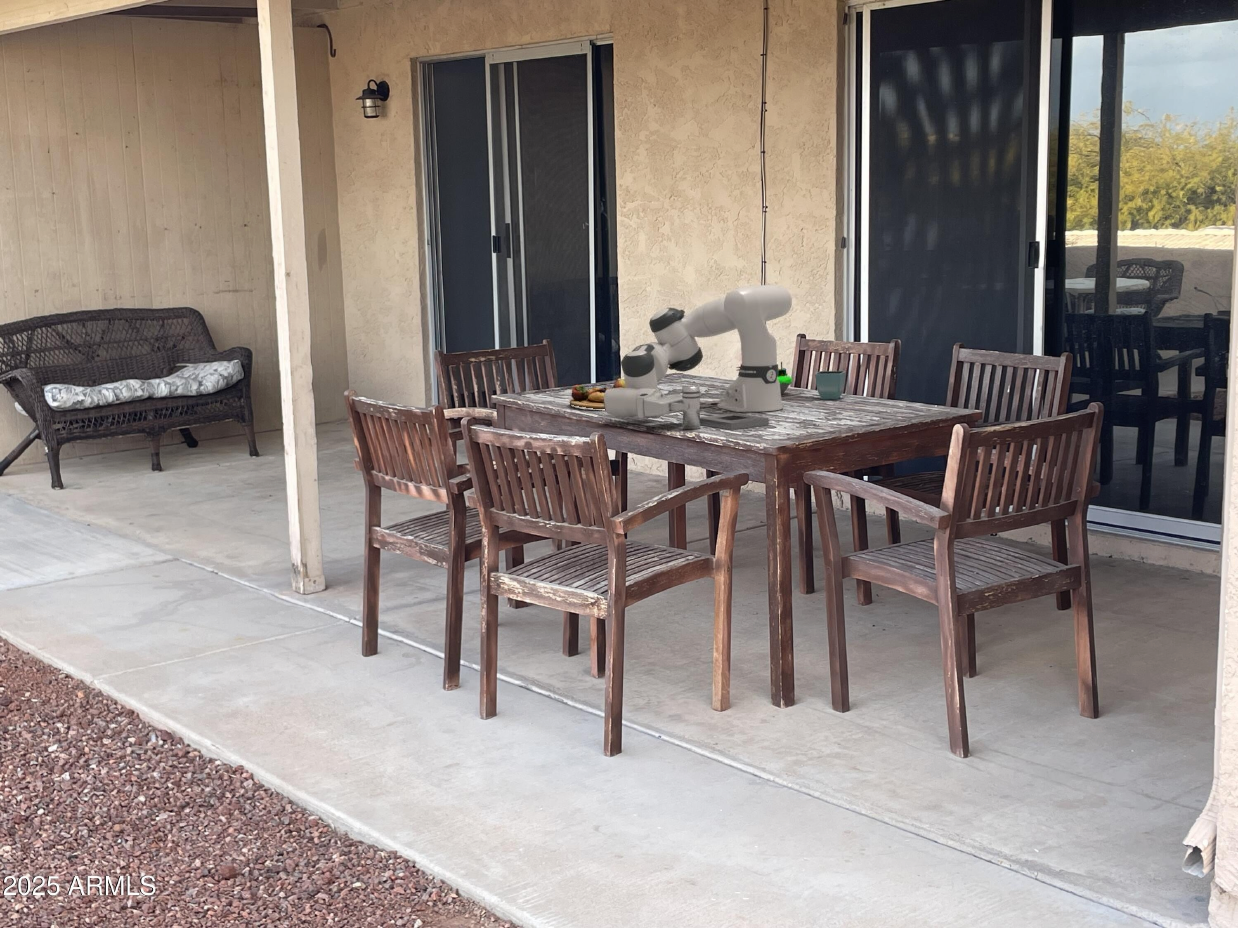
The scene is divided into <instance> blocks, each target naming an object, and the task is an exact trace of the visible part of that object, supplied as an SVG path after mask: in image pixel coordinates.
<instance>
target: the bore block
mask: <svg viewBox="0 0 1238 928" xmlns="http://www.w3.org/2000/svg"><path fill="white" fill-rule="evenodd" d="M769 419H770V418H769V417H764V416H756V415H750V414H745V413H744V414H743V413H739V412H731V413H724V414H716V415H710V416H700V426H704V427H711V428H717V429H722V430H723V429H724V430H730V431H732V430H733V431H734V430H740V429H750V428H756V427H762V426H769V425H770V424H769V422H770V421H769Z"/></svg>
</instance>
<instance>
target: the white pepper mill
mask: <svg viewBox="0 0 1238 928" xmlns="http://www.w3.org/2000/svg"><path fill="white" fill-rule="evenodd" d="M681 388H682V389H681V394H682V400H683V403H689V405H690V406H689V407H690V409H688V410H682V428H683V429H685V430H697V429H698V430H699V429H701V425H700V417H701V407H700V406H701V401H700V399H701V395H700V393H701V390H700V389H701V388H700V386H699V385H698V386H697V385H685V386H682V387H681Z"/></svg>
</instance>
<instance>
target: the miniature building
mask: <svg viewBox="0 0 1238 928" xmlns="http://www.w3.org/2000/svg"><path fill="white" fill-rule="evenodd" d="M777 379H778V381H779V383H780V391H781V395H782V394H784V393H785V392H786V391H787V389H788V388H789V387H790V385H791V384H792V381H793V378H792V377H791V376H788V373H787V369H786V368H785V367H783V361H780V368H779V371H778V376H777Z"/></svg>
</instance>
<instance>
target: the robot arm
mask: <svg viewBox="0 0 1238 928" xmlns="http://www.w3.org/2000/svg"><path fill="white" fill-rule="evenodd" d="M792 300H793V299H792V296H791V293H790V291H789V290H788V289H787V288H786V287H784V286H780V285H776V284H761V285H749V286H741V287H738V288H736V289H733V290H730V291H729V292H728V293H727V294H726V295H725V296H723V297H720V298H716V299H714V300H712V301H708V302H706V303H704V304H702V305H700V306H698V307H696V308H695V309H693V310H692V311H691V312H689V313H688V314H685V313H686V311H685V310H684V309H678V308H675V307H666V308H663V309H659V310H658V311H657V312H655V313H654V314H653V315H652V317H651V318H650V319H649V323H648V324H649V327H650V330H651V333H653V335H654V337H655V339H656V342H655V341H653V342H652V341H651V342H648V343H647V342H646V343H644V344H640V345H638V346H635V347H634V348H633V349H632V350H631V351H630V352H628V353H626V354H625V355H624V356H623V358H622V359H621V361H620V365H621V366H620V367H621V369H622V373H623V378H624V379H623V380H624V381H625V385H626V388H614V389H612V388H610V389H609V388H607V389H608V390H606V392H605V394H604V399H603V400H604V407H605V410H606V411H605V412H606V414H608V415H611V416H614V417H621V418H634V417H638V418H639V419H652V420H653V419H655V420H657V419H659V418H660V417H661V416H664V415H668V414H671V413H675V412H679V411H683V410H688V409H690V407H689V406H690V405H689V403H683V400H682V393H681V394H679V393H678V394H669V395H666V394H665V393H663V392H662V390H661V389H659V386H658V383H660V382H661V381H662V380H663V379H664V378H665V377H666V375H667V372H668V369H669V370H671V371H672V370H675V371H676V372H688V371H691V370H693V369H695V368H696V367H697V366H698V365H700V363H702V360H703V358H704V355H703V351H702V348H701V347H700V346H699V344H698V342H697V339H696V338H702V339H703V338H710V337H716V336H719V335H723V334H725V333H729V332H732V331H734V330H737V332H738V336H739V340H740V348H741V349H740V350H741V365H740V366H736V371H737V372H738V375H737V377H736V379H735V380H734V381H733V382H731V384H729V385H728V386H727V387H726V389H725V390H724V391H725V392H724V400H723V401H724V402H721V403H717V405H716V408H720V409H723V410H728V411H732V412H735V413H743V412H744V413H745V412H746V413H748V412H751V413H753V412H770V411H771V412H772V411H773V412H774V411H779V410H782V409H783V407H784V406H785V405H784V402H783V401H782V394H781V391H780V383H779V381H778V379H777V376H778V371H779V369H780V368H779V364H778V360H777V359H778V357H777V355H778V354H777V350H778V349H777V340H776V338H775V337H774V335H772V334H771V333H770V332H769V330H768V327H767V325H766V323H767V322H770V321H773V320H776V319H779V318H781V317H784V316H786V315H788V313H790V312H789V311H791V308H792V306H793V305H792V303H793V301H792ZM695 337H696V338H695Z"/></svg>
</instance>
